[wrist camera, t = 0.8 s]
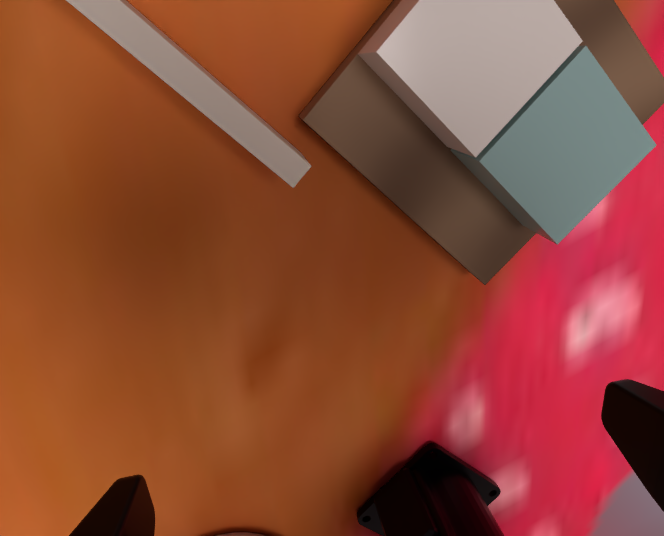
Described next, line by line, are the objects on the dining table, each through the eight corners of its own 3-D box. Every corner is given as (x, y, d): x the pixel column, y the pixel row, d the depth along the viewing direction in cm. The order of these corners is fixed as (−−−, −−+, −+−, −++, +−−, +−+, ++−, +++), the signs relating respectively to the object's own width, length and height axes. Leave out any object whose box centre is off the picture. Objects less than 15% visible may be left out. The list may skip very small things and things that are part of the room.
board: (645, 91, 21) (673, 92, 20) (470, 272, 23) (484, 285, 22) (497, -127, 17) (520, -144, 16) (298, 116, 19) (303, 120, 18)
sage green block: (609, 136, 20) (656, 145, 18) (522, 225, 21) (557, 244, 19) (542, 48, 18) (586, 45, 16) (450, 150, 19) (479, 161, 17)
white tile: (539, 44, 18) (582, 41, 16) (447, 146, 19) (475, 157, 17) (456, -66, 16) (492, -87, 14) (357, 53, 17) (376, 51, 15)
